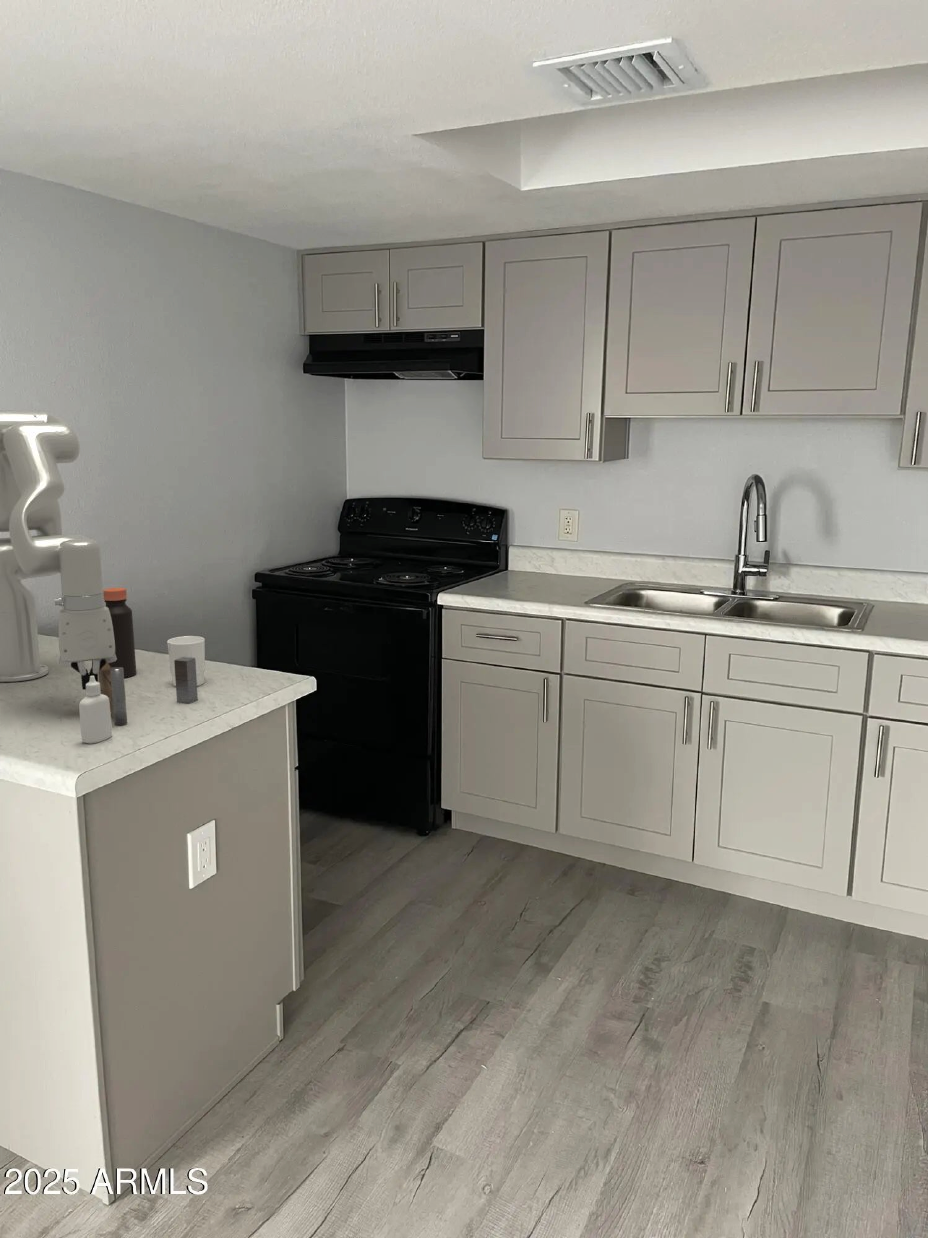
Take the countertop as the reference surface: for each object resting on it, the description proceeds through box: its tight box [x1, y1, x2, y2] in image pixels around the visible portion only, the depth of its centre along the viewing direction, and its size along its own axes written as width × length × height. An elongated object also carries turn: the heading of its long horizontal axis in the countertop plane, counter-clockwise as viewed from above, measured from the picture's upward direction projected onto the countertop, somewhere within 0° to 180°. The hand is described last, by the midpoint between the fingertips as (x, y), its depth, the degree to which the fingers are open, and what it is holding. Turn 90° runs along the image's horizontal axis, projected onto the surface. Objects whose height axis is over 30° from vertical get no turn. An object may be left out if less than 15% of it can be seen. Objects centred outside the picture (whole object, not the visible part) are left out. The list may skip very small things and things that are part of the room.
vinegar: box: [103, 587, 137, 679], centre depth 219 cm, size 7×7×20 cm
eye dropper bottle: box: [78, 676, 113, 744], centre depth 176 cm, size 4×6×12 cm
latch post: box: [174, 657, 199, 704], centre depth 200 cm, size 3×3×9 cm
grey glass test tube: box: [110, 667, 128, 727], centre depth 185 cm, size 2×2×11 cm
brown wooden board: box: [98, 664, 113, 716], centre depth 194 cm, size 2×16×7 cm, turn 29°
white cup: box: [166, 635, 206, 687], centre depth 213 cm, size 8×8×10 cm
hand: (90, 692), depth 193 cm, fingers closed
